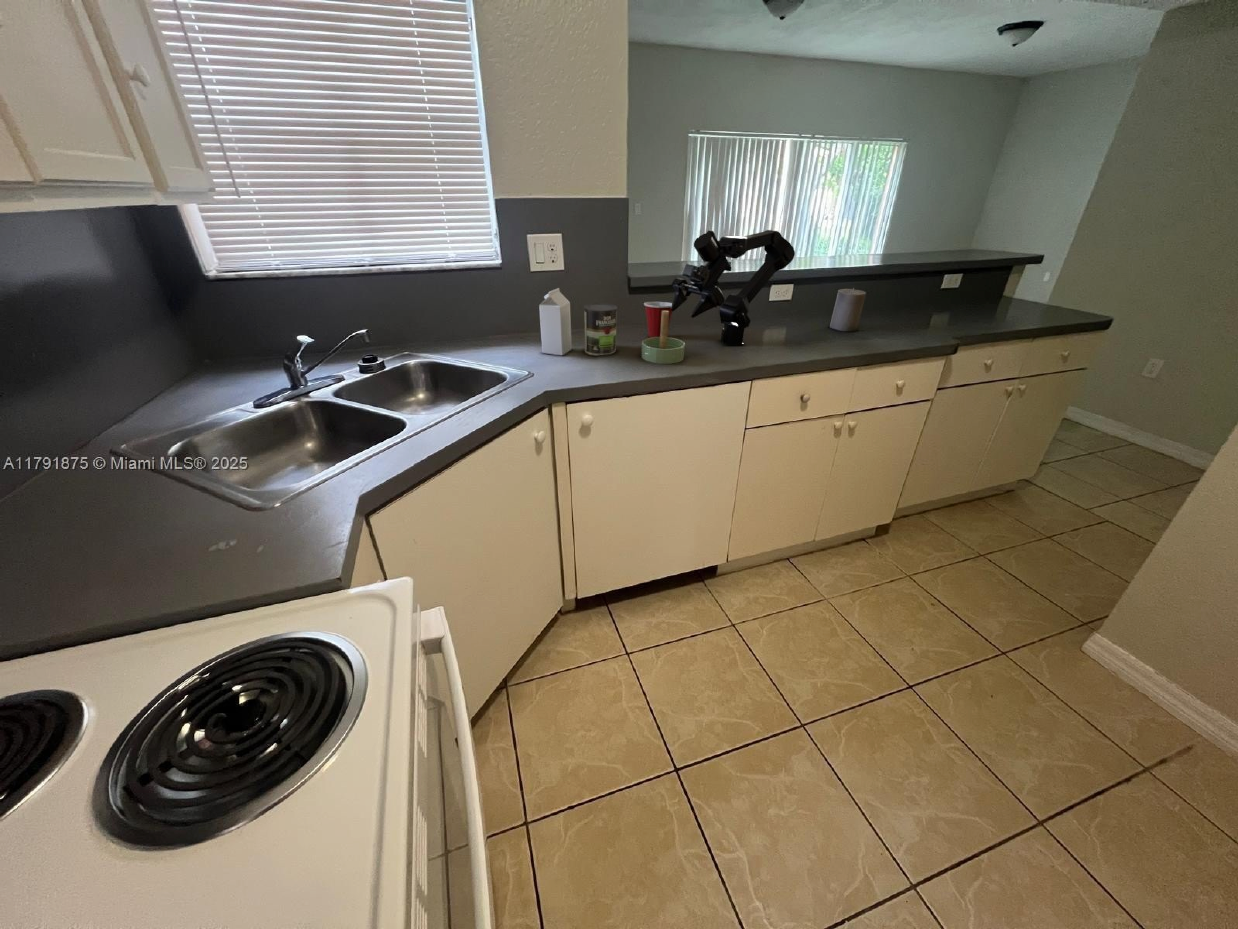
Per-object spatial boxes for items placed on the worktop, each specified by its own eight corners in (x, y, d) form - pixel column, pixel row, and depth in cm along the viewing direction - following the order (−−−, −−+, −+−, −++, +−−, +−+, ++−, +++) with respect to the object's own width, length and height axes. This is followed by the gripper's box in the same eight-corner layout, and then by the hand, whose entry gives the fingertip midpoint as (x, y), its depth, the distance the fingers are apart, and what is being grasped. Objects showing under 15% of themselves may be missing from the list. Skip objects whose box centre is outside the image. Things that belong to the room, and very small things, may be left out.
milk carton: (571, 349, 158) (569, 288, 148) (562, 356, 152) (559, 293, 142) (551, 347, 160) (548, 286, 150) (542, 353, 154) (538, 291, 144)
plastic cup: (672, 334, 176) (675, 299, 170) (672, 342, 167) (675, 306, 161) (643, 332, 177) (644, 298, 171) (641, 341, 167) (642, 305, 161)
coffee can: (621, 353, 155) (622, 308, 148) (592, 358, 151) (592, 311, 144) (607, 344, 163) (608, 301, 156) (579, 348, 159) (578, 304, 152)
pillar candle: (853, 326, 190) (864, 286, 183) (858, 332, 182) (869, 291, 174) (827, 324, 192) (837, 284, 184) (831, 330, 184) (841, 289, 176)
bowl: (679, 351, 158) (680, 336, 155) (687, 365, 147) (688, 349, 144) (638, 352, 157) (639, 336, 154) (644, 366, 146) (644, 349, 143)
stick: (668, 354, 154) (672, 309, 147) (671, 359, 150) (675, 313, 142) (653, 354, 153) (655, 309, 146) (655, 359, 149) (658, 313, 142)
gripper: (678, 249, 149) (648, 290, 149) (723, 257, 136) (690, 302, 136) (694, 274, 157) (666, 313, 157) (738, 284, 144) (707, 326, 144)
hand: (681, 313), depth 149 cm, fingers open, 9 cm apart
